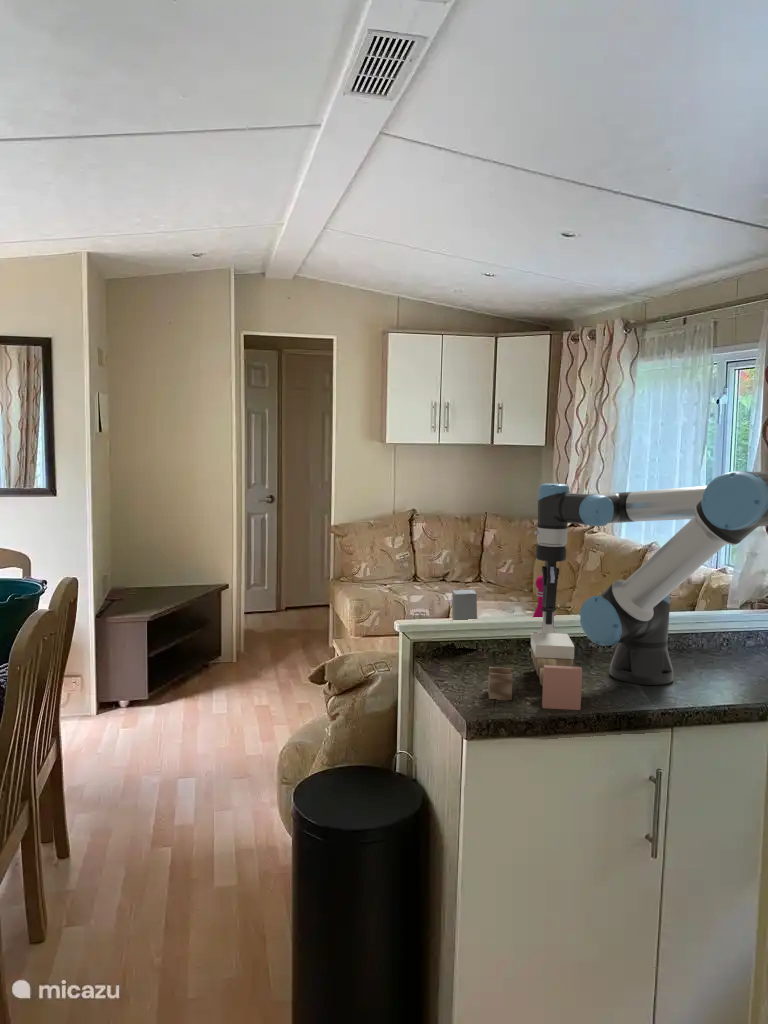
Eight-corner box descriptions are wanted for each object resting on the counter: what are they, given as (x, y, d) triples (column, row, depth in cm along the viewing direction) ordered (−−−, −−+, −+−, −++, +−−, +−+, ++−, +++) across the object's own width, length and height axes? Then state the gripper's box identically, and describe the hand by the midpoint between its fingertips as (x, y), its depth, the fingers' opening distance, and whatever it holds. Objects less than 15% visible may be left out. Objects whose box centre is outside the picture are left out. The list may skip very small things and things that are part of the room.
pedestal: (510, 692, 187) (510, 667, 186) (511, 700, 181) (512, 675, 180) (488, 691, 187) (489, 666, 187) (489, 699, 181) (490, 674, 181)
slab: (566, 645, 204) (567, 633, 203) (574, 659, 191) (574, 646, 190) (530, 643, 204) (531, 632, 204) (535, 657, 192) (535, 644, 191)
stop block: (579, 707, 177) (580, 666, 177) (580, 710, 175) (582, 669, 175) (542, 705, 178) (543, 665, 177) (542, 708, 176) (544, 667, 175)
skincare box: (478, 650, 224) (480, 594, 223) (452, 649, 224) (454, 593, 223) (474, 643, 233) (476, 588, 231) (450, 642, 233) (451, 587, 231)
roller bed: (562, 669, 207) (563, 642, 207) (579, 707, 177) (580, 675, 177) (530, 667, 208) (531, 641, 207) (542, 705, 178) (543, 674, 178)
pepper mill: (550, 639, 239) (553, 572, 237) (527, 636, 243) (530, 569, 241) (559, 635, 245) (562, 569, 243) (536, 631, 249) (539, 567, 247)
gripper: (534, 540, 212) (530, 629, 214) (538, 547, 199) (534, 641, 201) (563, 542, 212) (559, 630, 214) (569, 548, 199) (565, 642, 201)
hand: (547, 635), depth 208 cm, fingers closed
